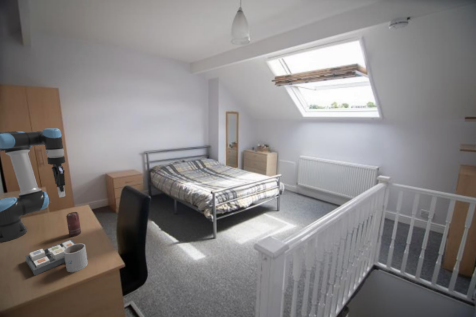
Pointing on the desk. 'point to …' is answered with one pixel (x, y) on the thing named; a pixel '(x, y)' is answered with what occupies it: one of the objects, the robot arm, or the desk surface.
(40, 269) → the keypad
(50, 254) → the key olive
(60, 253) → the key sand
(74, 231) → the can
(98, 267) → the desk surface
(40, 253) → the key slate
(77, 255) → the mug
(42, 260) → the key rust
